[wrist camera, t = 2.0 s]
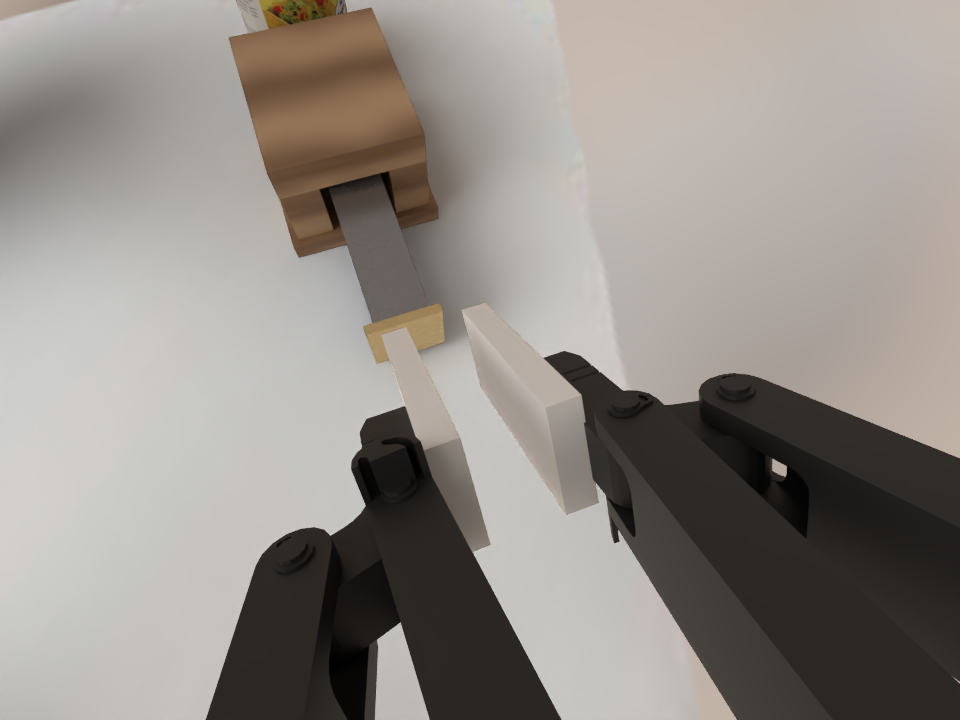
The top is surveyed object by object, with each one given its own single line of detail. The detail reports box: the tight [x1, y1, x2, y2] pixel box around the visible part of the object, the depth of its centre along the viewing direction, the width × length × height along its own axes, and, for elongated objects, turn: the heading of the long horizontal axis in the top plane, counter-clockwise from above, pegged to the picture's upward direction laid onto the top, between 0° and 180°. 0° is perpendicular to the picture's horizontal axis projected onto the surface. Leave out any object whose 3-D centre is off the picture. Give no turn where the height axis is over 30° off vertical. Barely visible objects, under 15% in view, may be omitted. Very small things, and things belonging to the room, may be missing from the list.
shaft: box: [328, 173, 444, 364], centre depth 38 cm, size 21×5×5 cm, turn 20°
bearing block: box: [229, 8, 438, 257], centre depth 39 cm, size 13×11×8 cm
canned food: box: [236, 0, 347, 33], centre depth 41 cm, size 8×8×12 cm
